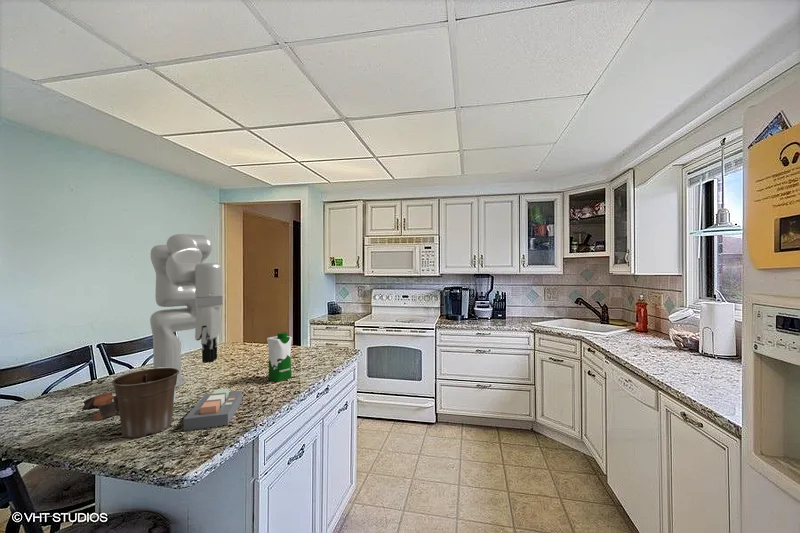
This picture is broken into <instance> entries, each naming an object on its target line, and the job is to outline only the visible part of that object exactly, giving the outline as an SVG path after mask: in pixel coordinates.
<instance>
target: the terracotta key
mask: <svg viewBox="0 0 800 533" xmlns="http://www.w3.org/2000/svg"><path fill="white" fill-rule="evenodd" d="M219 410H220V401H213V402H205V403H204V404H203V405H202V406H201V407H200V415H203V414H212V413H218V411H219Z"/></svg>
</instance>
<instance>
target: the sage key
mask: <svg viewBox="0 0 800 533" xmlns="http://www.w3.org/2000/svg"><path fill="white" fill-rule="evenodd" d="M229 392H230V388H219V389H215V390H214V391H213V392H212V393H211V394H212V395H222V394H225V399H227V398H228V397H229Z"/></svg>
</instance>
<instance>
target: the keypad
mask: <svg viewBox="0 0 800 533" xmlns="http://www.w3.org/2000/svg"><path fill="white" fill-rule="evenodd" d="M210 396H212V393H205V394H204V395H203V397H201V399H199V401H198V402H197V403H196V404H195V405H194V407H192V409H191V410H190V411H189V412H188V414H187V415H186V416H185V417H184V418H183V431H194V430H201V429H211V428H210V427H212V428H217V427H216V426H220V427H224V426H223V425H228V424H229V425H230V423H231V421H232V419H233V418H234V416H235V414H236V413H237V411H238V408H239V407H240V406H241V403H242V401H243V390H235V391H234V390H233V391H229V397H228V398H227V399H225V402H224V404H223V405H222V406H220V410H219V411H218V413H212V414H203V415H200V407H201V406H202V405H203V404H204V403H205V402H206V400H207V399H208V398H209V397H210ZM232 417H233V418H232ZM229 422H230V423H229ZM229 425H228V426H229Z"/></svg>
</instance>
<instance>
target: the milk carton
mask: <svg viewBox="0 0 800 533" xmlns="http://www.w3.org/2000/svg"><path fill="white" fill-rule="evenodd" d="M292 341H293V337H292V336H288V332H287V331H286V332H284V331H283V332H278V333H277V335H276V336H270V337H267V338H266V342H267V347H268V380H269V381H273V382H277V383H279V382H282V381H285V380H289V379H292V377H293V376H292V349H291V348H292Z"/></svg>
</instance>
